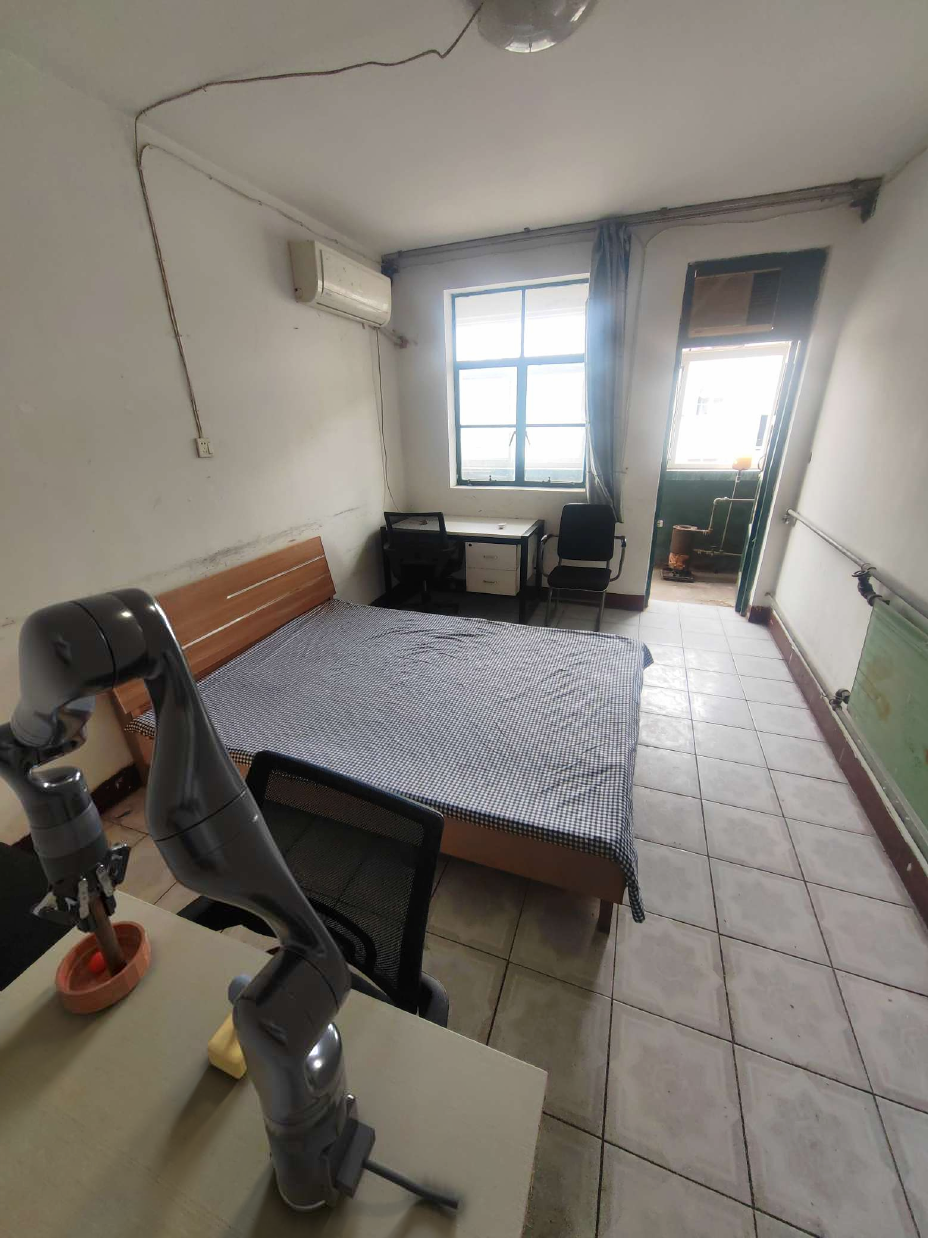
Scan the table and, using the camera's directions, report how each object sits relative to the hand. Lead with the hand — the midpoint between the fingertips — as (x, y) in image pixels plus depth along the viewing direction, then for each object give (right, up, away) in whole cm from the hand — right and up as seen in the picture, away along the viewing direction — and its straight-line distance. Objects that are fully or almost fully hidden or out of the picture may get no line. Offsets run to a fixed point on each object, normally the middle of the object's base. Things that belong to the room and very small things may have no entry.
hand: (99, 921), depth 74 cm
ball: (-4, -10, +5) cm, 12 cm away
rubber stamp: (+26, -15, -3) cm, 30 cm away
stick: (+1, -11, +3) cm, 11 cm away
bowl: (-2, -12, +5) cm, 13 cm away
